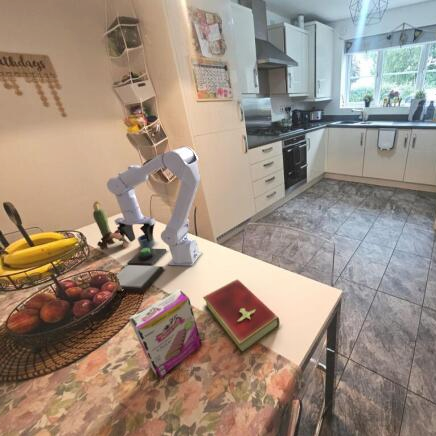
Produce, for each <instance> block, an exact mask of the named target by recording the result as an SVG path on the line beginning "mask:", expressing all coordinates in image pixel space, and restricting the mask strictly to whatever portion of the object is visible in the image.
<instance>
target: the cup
mask: <svg viewBox="0 0 436 436" xmlns="http://www.w3.org/2000/svg"><path fill="white" fill-rule="evenodd" d="M137 242H138V244H139V247H140V249H141V250H142V249H143V248H153V247H154V246H155V245H156V241H155V237H154V236H153V240H152V241H151V242H148V241H147V239H146V236H145V234H144V233H143V234H141V235H140V236H138V237H137Z"/></svg>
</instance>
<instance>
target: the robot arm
mask: <svg viewBox="0 0 436 436" xmlns="http://www.w3.org/2000/svg"><path fill="white" fill-rule="evenodd" d="M198 162H199V157H198V155H197V154H196V152H195V151H194V150H193V148H191V147H190V146H187V145H183V146H180V147H179V148H175V149H172V150H168V151H166V152H164V153H160V154H159V155H156V156H154V158H152V159H150V160H149V161H147V162H145V164H143V165H138V164H137V165H133V164H132V165H129V166H127V170H125V171H121V172H119V173H118V174H117V175H118V176H115V177H111V178H109V179H108V181H107V182H106V187H107V189H108V191H109V192H110V193H111V194H113V195H114V196H115V198H116V201H117V204H118V207H119V209H120V211H121V214H122V217H118V218H116V219H114V220H113V221H114V223H115V225H116V226H117V227H116V230H120V231H121V232H122V233H123V234H124V235H125V236H124V237H126V238H127V240H128V241H129V243H130V242H134V241H135V240H136V235H135V232H134V225H142V226H141V227H139V229H140V230H141V232H142V233H143V235H144V234H145V236H146V239H147V241H148V242H151V241H152V240H153V237H154V228H155V225H156V221H155V220H156V219H155V218H154V217H147V216H144V214H142V210H141V208H140V205H139V202H138V199H137V196H136V189H135V188H136V187H137V186H140V185H141V184H143V183H145V182H146V181H148V179H149V175H150V174H152V173H154V172H156V171H158V170H160V169H161V168H162V169H163V170H168V171H169V172H171V174H172V175H173V176H175V178H177V179H178V180H179V181H181V183H180V186H179V190H178V194H177V197H176V201H175V204H174V207H173V211H172V213H171V217H170V220H169V221H168V223H167V224H166V225H165V228H164V230H163V231H161V233H160V239H161V241H162V242H163V243H164V244H166V245H167V246H168V248H169V252H170V255H171V260H170V261H169V262H168V265H169V266H188V267H189V266H190V267H191V266H193V265H194V264H195V262H196V261H197V260H198V258H199V257H200V256H201V252H200V250H199V247H198V242H197V240H195V239H192V238H190V237H189V234H188V233H189V231H190V220H189V216H190V213H191V210H192V206H193V203H194V200H195V198H196V194H197V191H198V187H199V184H200V182H201V176H200V171H199V164H198Z"/></svg>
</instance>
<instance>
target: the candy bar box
mask: <svg viewBox="0 0 436 436" xmlns="http://www.w3.org/2000/svg"><path fill="white" fill-rule="evenodd" d="M128 319H129V321H130V324H131V326H132V328H133V331H134V333H135V335H136V337H137V340H138V342H139V345H140V347H141V349H142V352H143V353H144V356H145V358H146V360H147V363H148V366H150V368H151V370H152V372H153V373H154V374H155V376H156V377H157V378H158V380H160V379H161V378H163V377H164V376H166V375H167V374H168V373H169V372H170V371H171V370H173V369H174V368H175V367H177V366H178V365H179V364H180V363H181V362H183V361H184V360H185V359H186V358H187V357H189V356H190V355H191V354H193V353H194V352H195V351H197V350H198V349H199V348H200V347H201V346H202V340H201V337H200V333H199V330H198V325H197V321H196V318H195V314H194V311H193V307H192V304H191V300H190V297H189V296H188V295H187V294H186V293H184V291H182V290H181V289H180V288H178V289H176V290H175V291H173V292H171V293H169V294H168V295H166V296H164V297H162V298H161V299H159V300H157V301H156V302H154V303H152V304H151V305H149V306H147V307H145V308H143V309H142V310H140V311H138V312H136V313H134V314H133V315H131V316H129V317H128Z"/></svg>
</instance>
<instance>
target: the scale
mask: <svg viewBox="0 0 436 436" xmlns="http://www.w3.org/2000/svg"><path fill="white" fill-rule="evenodd" d="M164 271H165V270H164V267H163V265H162V266H161V265H153V266H137V265H128V264H127V265H126V266H125V267H124V268H123V269H122V270H120V271H119V272H118V273H117V274H115V276H117V278H118V279H119V282H120V286H122V289H124V290H123V292H122V293H128V294H129V293H133V294H144V293H146V291H147V290H148V289H149V287H150V286H152V284H153V283H154V282H155V281H156V280H157V279H158V278H159V276H160V275H161V274H162V273H163V272H164Z"/></svg>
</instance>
